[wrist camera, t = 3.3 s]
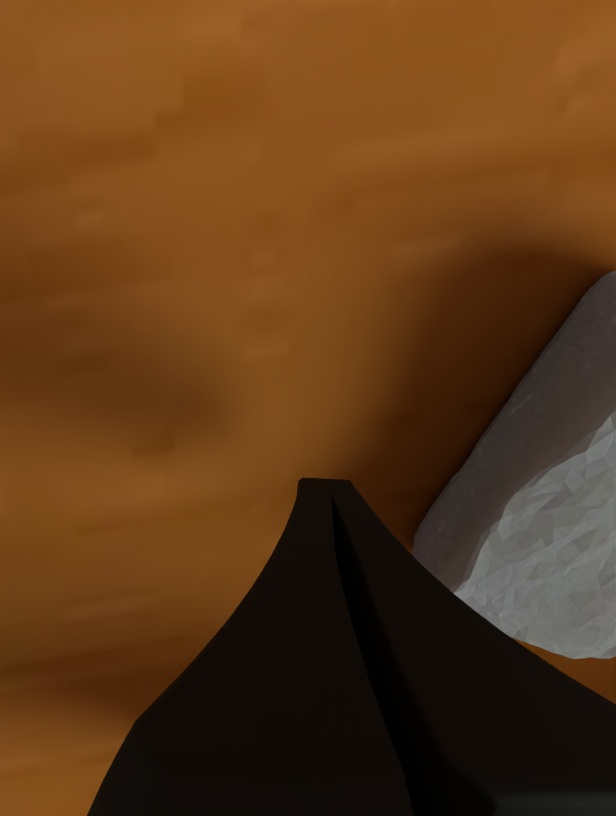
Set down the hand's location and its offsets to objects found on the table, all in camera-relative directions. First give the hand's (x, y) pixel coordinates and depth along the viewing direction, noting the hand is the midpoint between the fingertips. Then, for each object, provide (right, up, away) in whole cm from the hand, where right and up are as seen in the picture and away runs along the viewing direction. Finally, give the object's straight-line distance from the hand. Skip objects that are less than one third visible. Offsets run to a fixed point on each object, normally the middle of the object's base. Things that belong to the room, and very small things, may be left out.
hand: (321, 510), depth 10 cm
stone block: (+10, +1, +4) cm, 11 cm away
